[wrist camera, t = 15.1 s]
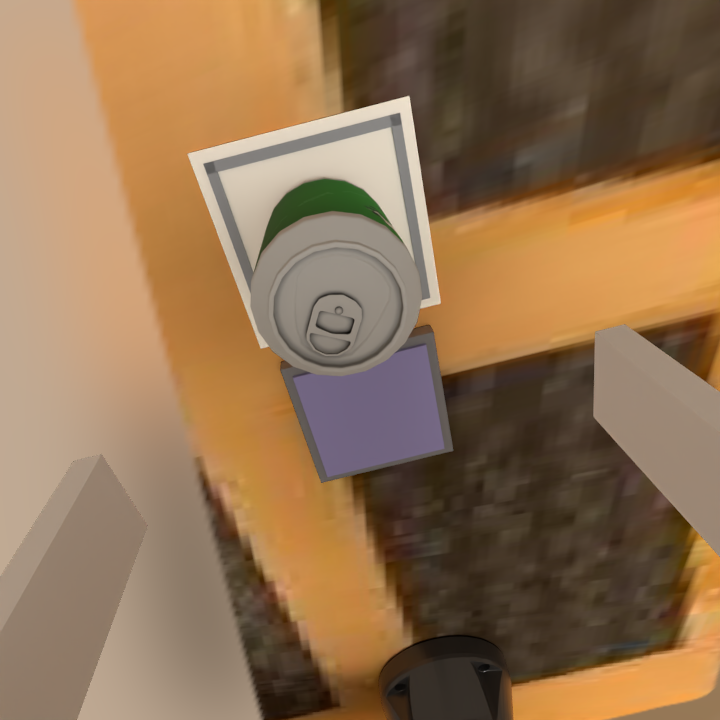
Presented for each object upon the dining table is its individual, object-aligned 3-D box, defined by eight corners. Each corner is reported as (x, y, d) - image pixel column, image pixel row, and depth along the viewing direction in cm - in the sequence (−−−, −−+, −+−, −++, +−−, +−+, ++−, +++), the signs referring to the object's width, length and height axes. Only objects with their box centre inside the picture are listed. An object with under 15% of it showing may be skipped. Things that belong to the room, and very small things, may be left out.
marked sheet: (440, 302, 34) (441, 304, 33) (261, 347, 34) (260, 350, 34) (408, 95, 27) (409, 95, 27) (188, 153, 28) (186, 154, 27)
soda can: (256, 277, 31) (232, 370, 21) (280, 158, 28) (267, 196, 18) (366, 304, 33) (395, 402, 22) (401, 194, 30) (454, 248, 19)
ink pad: (449, 441, 40) (454, 453, 38) (320, 472, 40) (321, 485, 39) (429, 324, 34) (434, 333, 33) (281, 361, 35) (280, 372, 33)
